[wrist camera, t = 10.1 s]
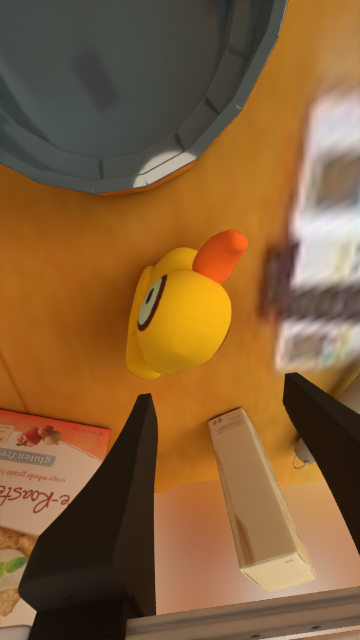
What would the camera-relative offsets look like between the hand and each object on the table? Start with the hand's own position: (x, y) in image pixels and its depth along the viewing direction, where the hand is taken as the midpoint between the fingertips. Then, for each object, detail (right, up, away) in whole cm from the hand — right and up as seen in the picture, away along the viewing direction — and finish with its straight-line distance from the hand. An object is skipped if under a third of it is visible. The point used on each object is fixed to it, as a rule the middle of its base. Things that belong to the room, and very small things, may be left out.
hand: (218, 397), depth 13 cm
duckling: (-3, +7, +7) cm, 10 cm away
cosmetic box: (+4, -9, +15) cm, 18 cm away
